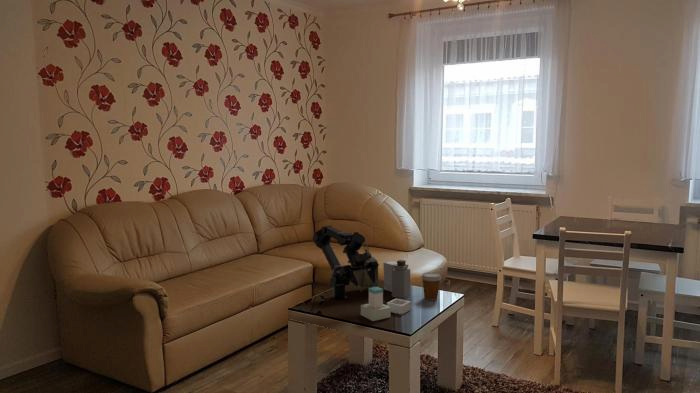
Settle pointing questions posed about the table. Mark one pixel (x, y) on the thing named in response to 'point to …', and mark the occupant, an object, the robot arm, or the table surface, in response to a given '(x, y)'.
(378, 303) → the plug
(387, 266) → the skincare box
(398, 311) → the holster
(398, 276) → the perfume bottle
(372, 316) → the socket block
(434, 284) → the disposable coffee cup
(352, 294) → the table surface
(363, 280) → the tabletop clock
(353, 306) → the table surface
